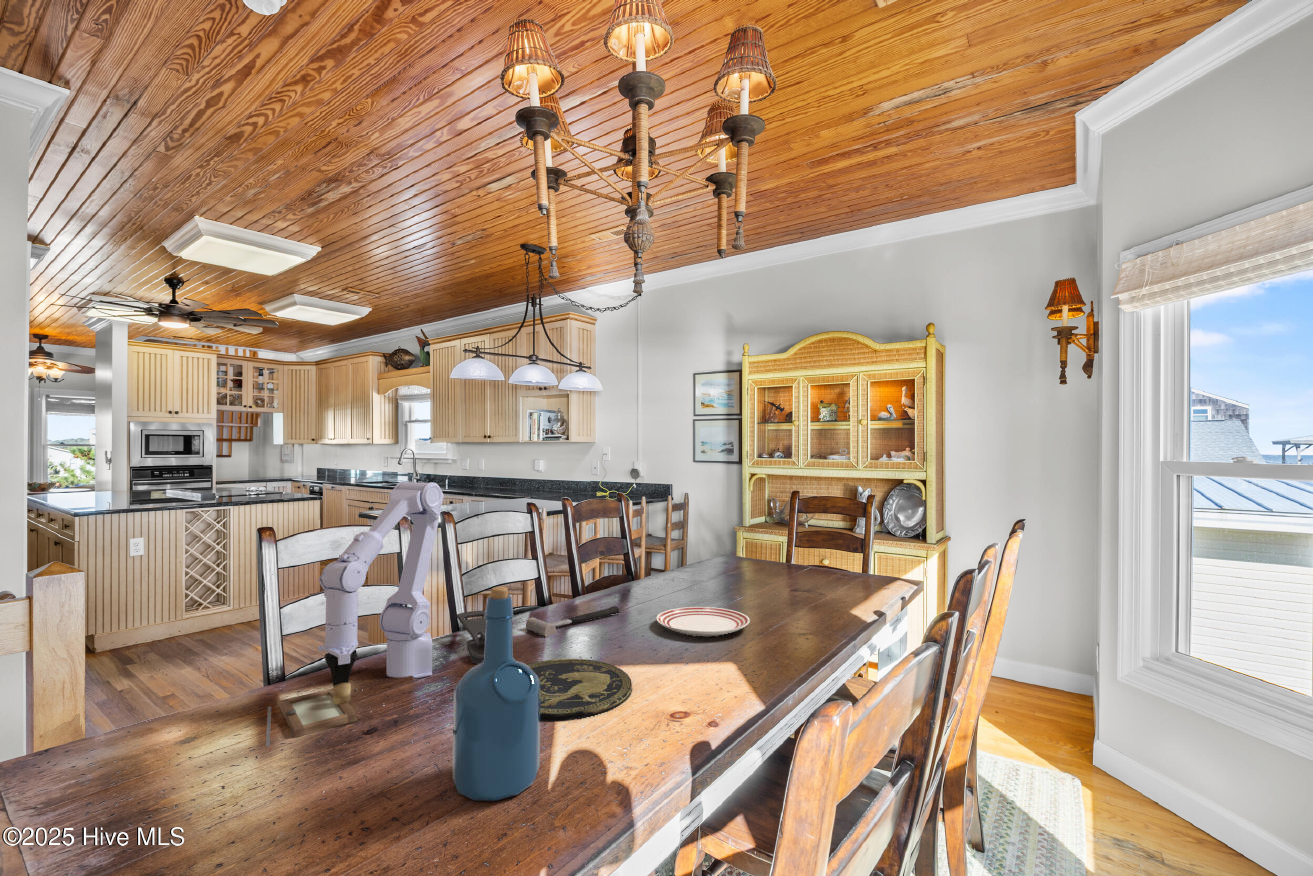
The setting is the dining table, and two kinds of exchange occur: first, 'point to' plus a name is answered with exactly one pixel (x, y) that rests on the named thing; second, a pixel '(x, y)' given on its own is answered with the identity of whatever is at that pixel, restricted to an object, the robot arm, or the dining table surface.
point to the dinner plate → (703, 621)
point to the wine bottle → (496, 715)
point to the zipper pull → (475, 634)
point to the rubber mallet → (565, 621)
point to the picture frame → (318, 710)
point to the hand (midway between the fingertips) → (340, 689)
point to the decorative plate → (579, 688)
